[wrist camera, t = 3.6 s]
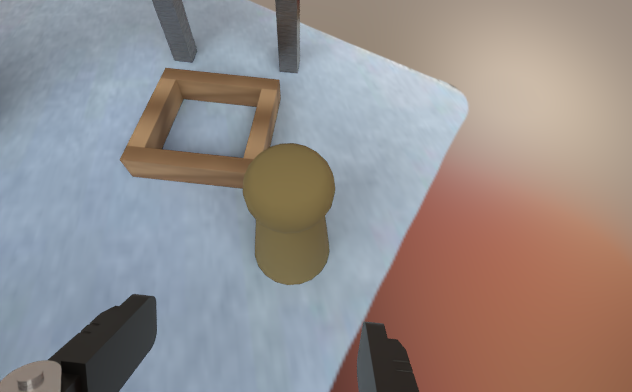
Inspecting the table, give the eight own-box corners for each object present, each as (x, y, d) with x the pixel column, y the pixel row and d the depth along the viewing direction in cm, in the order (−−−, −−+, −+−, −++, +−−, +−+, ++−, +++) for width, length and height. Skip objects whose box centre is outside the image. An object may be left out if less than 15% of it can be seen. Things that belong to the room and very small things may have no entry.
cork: (261, 211, 28) (242, 122, 19) (331, 217, 28) (347, 131, 19) (248, 281, 25) (217, 216, 16) (326, 288, 25) (343, 227, 16)
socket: (260, 190, 29) (257, 174, 27) (132, 176, 30) (119, 159, 27) (280, 98, 35) (279, 79, 33) (173, 87, 35) (165, 67, 33)
